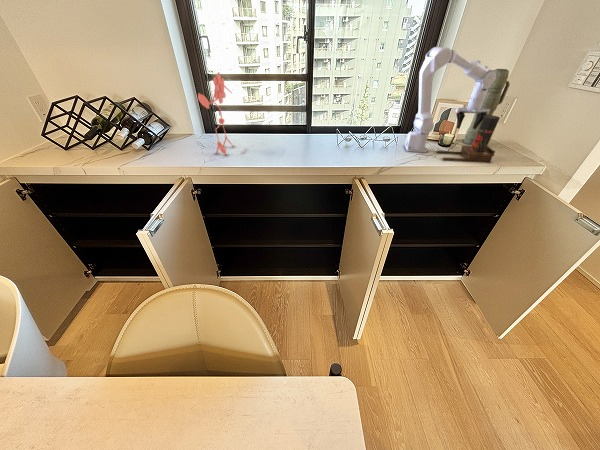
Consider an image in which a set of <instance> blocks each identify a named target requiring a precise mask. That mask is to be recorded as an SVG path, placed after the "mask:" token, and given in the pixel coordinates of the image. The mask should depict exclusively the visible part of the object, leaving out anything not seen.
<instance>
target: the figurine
mask: <svg viewBox="0 0 600 450" xmlns="http://www.w3.org/2000/svg"><path fill="white" fill-rule="evenodd" d="M215 76H216V77H215ZM215 76H213V78H212V80H213V84H214V93H213V97H212V99H211V100H210V101H209V100H208V98H207V97H206V96H205V95H204V94H202V93H200V92H198V93H197V98H198V101H199V103H200V104H201V105H202V106H203V107H204V108H206V109H208V110H209V109H210V105H211V104H212V103H213V104H214V105H215V106H216V107H217V108H218V109H219V114H220V117H219V119H218V123H219V124H218V125H217V127H215V134H216V137H217V140H218V141H217V143H216V145H217V147H216V151H215V154H216V155H217V154H218V152H219V150H220V152H221V153H222V154H223V155H225V156H227V150H226V147H225V144H226V141H227V142H228V143H229V144H230V145H231V146H232V147H234V145H233V143H232V142H231V141H230V140H229V138H228V136H227V133H226V130H225V126H224V124H225V119H224V118H223V114H222V109H221V107H220V106H219V105H218V104H217V103H216V102H217V101H218V103H219V104H220V105H222V104H223V102H224V99H225V98H226V92H225V89H226V90H227V91H228V92H229V93H230V94H233V92H232V91H231V90H230V89H229V88H228V87H227V86H226V85H225V79H224V77H221V73H220V72H217V73H216V75H215ZM221 125H222V128H223V133H224V141H223V144H222V143H221V141H220V139H219V135H218V131H217V129H219V127H220V126H221ZM246 151H248V148H246ZM243 154H244V152H243V153H240V154H239V155H240V156H241V155H243ZM209 158H210V159H212V156H211V157H209Z"/></svg>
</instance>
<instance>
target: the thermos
mask: <svg viewBox="0 0 600 450" xmlns="http://www.w3.org/2000/svg"><path fill="white" fill-rule="evenodd" d="M494 71H495V73H496V76H495V77H496V79H495V81H494V82H493V83H492V84H491V85H490V87H489V88H488V91H487V94H486V96H485V99H484V101H483V104H482V106H481V108H483V109H490V112H489V114H486V115H493V116H494V113H495V111H496V110H497V108H498V106H499V105H501V104H502V103H503V101H504V99H505V97H506V94H507V92H508V90H509V87H510V85H511V84H510V82H509V80H508V79H509V74H510V70H509V69H506V68H496V69H494ZM476 116H477V113H474V115H473V118H472V120H471V123H470V125H469V127H468V128H467V130H466V132H465V135H464V139H463V143H464V144H466V145H469V146H472V145H473V143H474V140H475V138H476V135H477V133H478V130H479V128H480V125H481V123H482V121H483V120H482V121H481V122H480V124H479V125H478V126H477V128H476V129H473V125H474V123H475V120H476Z"/></svg>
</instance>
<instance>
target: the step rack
mask: <svg viewBox="0 0 600 450" xmlns="http://www.w3.org/2000/svg"><path fill="white" fill-rule="evenodd" d="M471 147H472V145H461V150H460V151H457V150H437V152H436V153H437V154H451V155H461V156H462V157H445V156H443V157H442V160H443V161H453V162H455V161H456V162H472V163H473V162H474V163H475V162H476V163H491V161H492V159H493V157H495V153H496V150H494V149H493V148H491V146H489V145H488V146H487V148H486V150H485V152H476V151H473V150H471Z"/></svg>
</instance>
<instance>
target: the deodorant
mask: <svg viewBox="0 0 600 450" xmlns="http://www.w3.org/2000/svg"><path fill="white" fill-rule="evenodd" d="M500 119H501V117H500V116H497V115H494V114H493V115H485V116H484V118H483V121H482V123H481V125H480V128H479V130H478V133H477V135H476V138H475V140H474V143H473V145H471V146H472V147H471V150H473V151H476V152H485V150H486V148H487V146H489V143H490V142H491V140H492V137H493V134H494V132H495V130H496V127H497V125H498V123H499V121H500Z"/></svg>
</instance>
